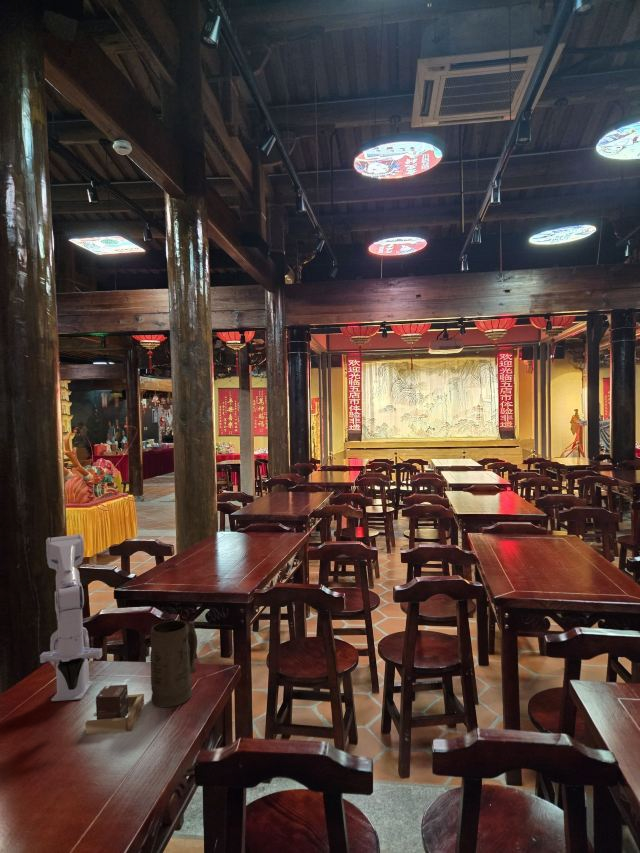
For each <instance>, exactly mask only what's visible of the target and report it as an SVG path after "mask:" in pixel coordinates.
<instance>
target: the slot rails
mask: <svg viewBox="0 0 640 853" xmlns="http://www.w3.org/2000/svg"><path fill="white" fill-rule="evenodd" d="M144 705H145V694H144V693H139V694H137V693H136V694H134V693H133V694H128V709H130V710H129V712H128V714H127V716H126V717H125V718H113V719H100V720H97V719H87V720H86V722H85V735H86V734H89V735H98V734H97V733H102V734H110V733H111V732H113V734H114V732H115V733H126V732H132V731H133V728H134V726H135V725H136V722H137V719H138V718H139V715H140V714H141V712H142V710H143V708H144Z"/></svg>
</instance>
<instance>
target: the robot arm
mask: <svg viewBox="0 0 640 853" xmlns="http://www.w3.org/2000/svg"><path fill="white" fill-rule="evenodd" d="M45 544H46V545H45V547H46V548H45V550H46V560H47V562H46V563H47V565H48V568H50V569H53V570H55V571H56V572H55V573H56V574H55V591H54V607H55V608H54V609H55V614H56V621H57V630H55V631H54V632H53V633H52V634H51V636H50V640H49V641H50V643H49V650H50V651H43V652H42V653H41V654H40V655H39V659H40V660H39V662H40V664H45V663H46V662H50V664H51V665H52V666H55V674H56V675H55V676H56V677H55V678H56V691H57V692H56V693H55V694H54V696H52V698H51V699H50V700H51V702H59V701H60V702H61V701H74V700H81V699H82V698H83V697H84V695H85V694H86V693H87V691H88V690H89V688H90V687H91V686H92V685H93V683H94V682H93V681H94V680H92V681H91V680H90V667H89V665H90V663H89V660H90V659H95V660H101V658H102V656H103V647H101V648H95V647H90V639H89V632H88V630H87V628H86V627H84V625H83V624H84V623H83V608H84V604H85V594H84V588H83V585H82V582H81V578H80V571H79V569H78V568H77V567H78V566H80V565H81V564H82V563H83V560H84V552H85V545H84V544H85V542H84V535H83V534H82V533H78V534H71V535H63V536H62V535H61V536H55V537H47V538H46V540H45ZM81 606H82V607H81ZM88 659H89V660H88Z"/></svg>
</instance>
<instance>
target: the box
mask: <svg viewBox="0 0 640 853" xmlns="http://www.w3.org/2000/svg"><path fill="white" fill-rule="evenodd" d="M128 695H129V693H128V684H114V685H105V686H103V688H102V689H101V690H100V691H99V693H98V694H97V695H96V697H95V708H96V709H95V710H96V712H95V713H96V715H95V716H96V720H100V719H113V718H126V717H127V716H128V714H129V713H130V710H129V709H130V708H128Z"/></svg>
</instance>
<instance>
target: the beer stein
mask: <svg viewBox="0 0 640 853" xmlns="http://www.w3.org/2000/svg"><path fill="white" fill-rule="evenodd" d="M149 633H150V634H149V636H150V684H151V686H150V687H151V692H152V694H151V703H152V704H153V705H154V706H156V707H161V708H171V707H176V706H179V705H183V704H184V703H185V702H187V701H189V700H190V699H191V697H193V696H192V695H193V690H192V686H191V685H192V674H195V673H196V672H197V668H196V666H195V664H194V663H195V658H196V653H197V648H198V637H197V631H196V629H195V621H192V620H191V621H188V622H185V621H183V620H180V619H179V620H176V619H175V620H166V621H162V622H159V623H157V624H154V625H152V627H151V629H150V632H149Z"/></svg>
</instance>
